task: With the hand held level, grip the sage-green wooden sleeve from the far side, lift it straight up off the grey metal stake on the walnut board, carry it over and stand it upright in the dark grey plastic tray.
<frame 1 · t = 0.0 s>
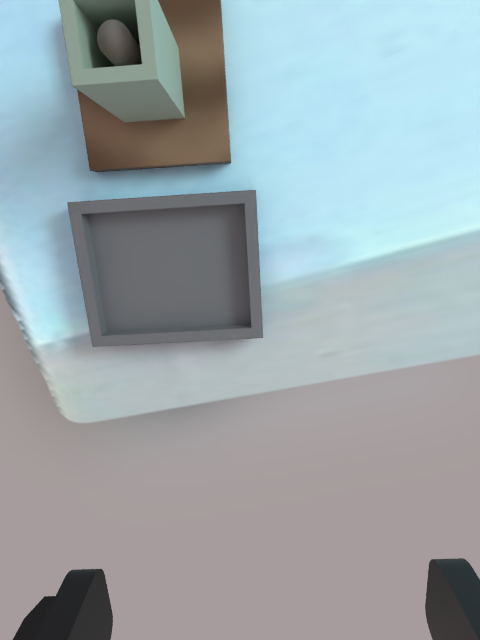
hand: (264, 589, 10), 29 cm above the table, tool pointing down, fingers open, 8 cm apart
grey tray: (174, 268, 37), on the table
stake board: (155, 91, 33), on the table
sleeve: (150, 86, 31), point 1 cm above the table, touching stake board
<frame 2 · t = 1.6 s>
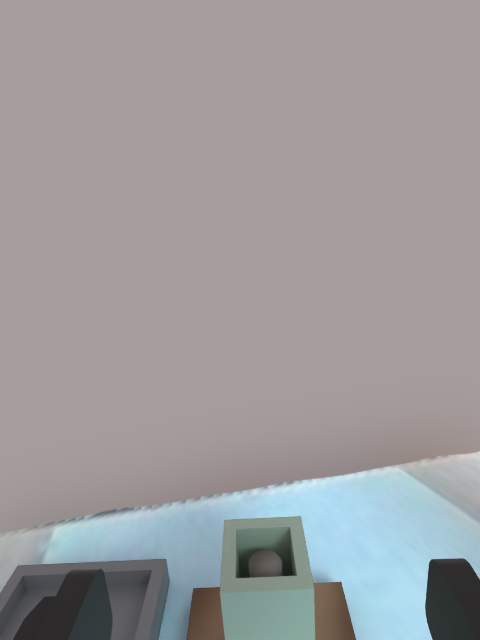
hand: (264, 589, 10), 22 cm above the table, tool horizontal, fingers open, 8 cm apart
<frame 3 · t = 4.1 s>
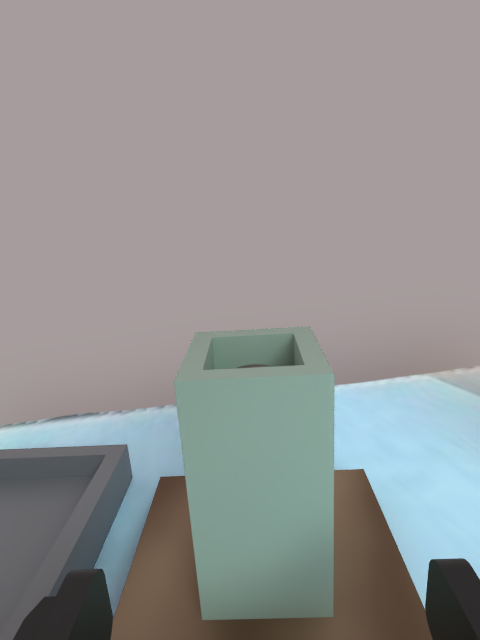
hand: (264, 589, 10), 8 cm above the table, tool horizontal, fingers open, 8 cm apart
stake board: (266, 587, 18), on the table
sleeve: (264, 561, 17), point 1 cm above the table, touching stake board
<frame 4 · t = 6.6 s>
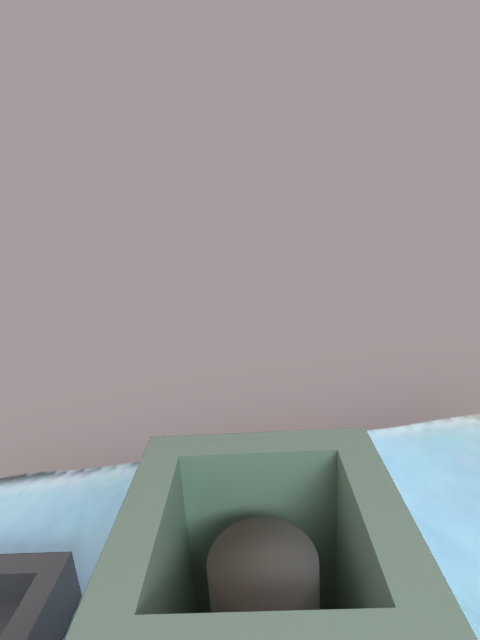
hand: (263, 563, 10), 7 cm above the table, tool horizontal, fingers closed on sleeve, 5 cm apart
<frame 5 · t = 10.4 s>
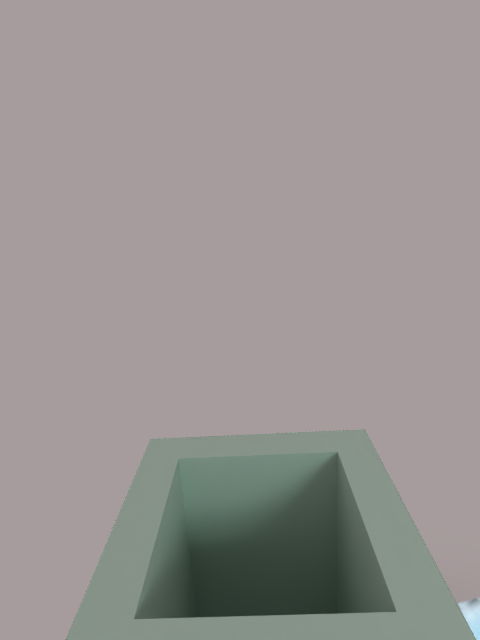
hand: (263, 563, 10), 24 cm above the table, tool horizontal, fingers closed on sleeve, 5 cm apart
when the fingers open (8 cm above the table, at t = 14.2 s): sleeve drops 1 cm, resting on grey tray.
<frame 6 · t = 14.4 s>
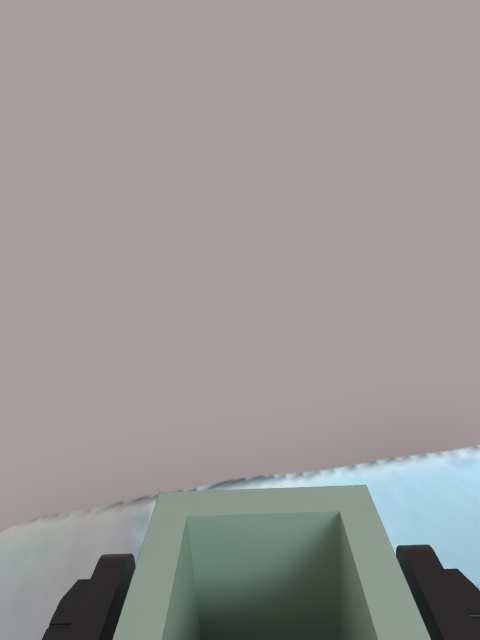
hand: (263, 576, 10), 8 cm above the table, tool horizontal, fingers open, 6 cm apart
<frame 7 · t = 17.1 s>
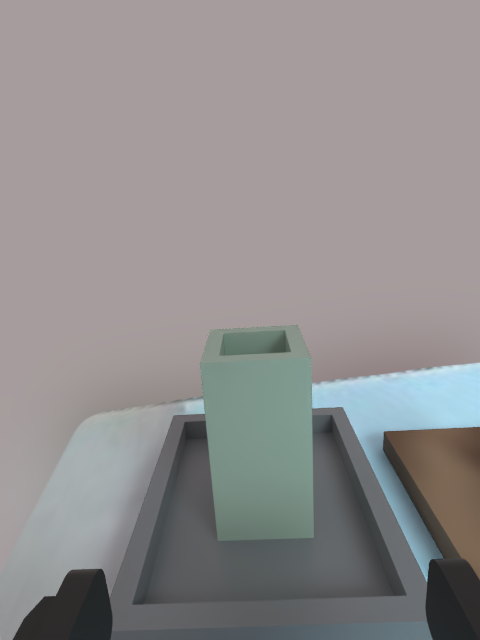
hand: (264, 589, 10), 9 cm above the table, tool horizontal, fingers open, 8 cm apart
grey tray: (263, 517, 23), on the table
sleeve: (263, 504, 23), point 1 cm above the table, touching grey tray
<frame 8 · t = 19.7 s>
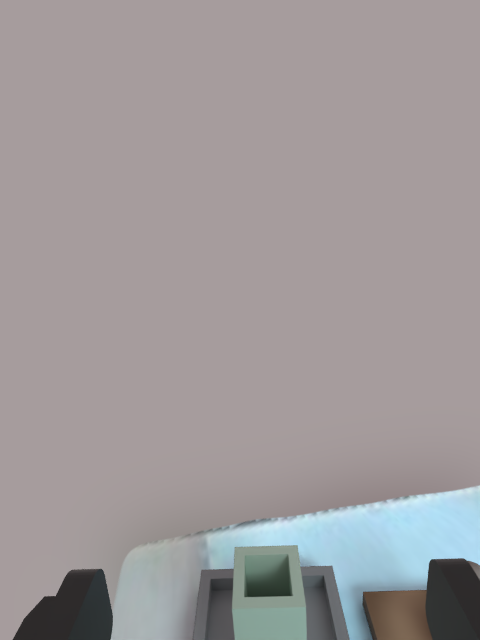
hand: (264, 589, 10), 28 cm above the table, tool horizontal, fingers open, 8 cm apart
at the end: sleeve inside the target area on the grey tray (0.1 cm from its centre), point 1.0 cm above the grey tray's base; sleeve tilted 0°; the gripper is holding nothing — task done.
